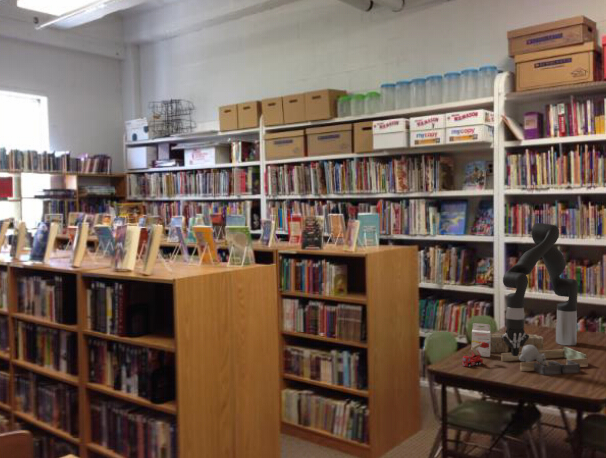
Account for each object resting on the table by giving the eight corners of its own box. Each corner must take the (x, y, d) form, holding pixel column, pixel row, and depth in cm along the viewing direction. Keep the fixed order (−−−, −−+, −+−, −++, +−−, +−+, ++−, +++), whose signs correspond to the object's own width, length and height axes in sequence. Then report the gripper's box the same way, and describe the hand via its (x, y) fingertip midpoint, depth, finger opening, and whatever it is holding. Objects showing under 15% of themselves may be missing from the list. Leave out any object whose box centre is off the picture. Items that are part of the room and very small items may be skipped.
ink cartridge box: (471, 355, 281) (471, 325, 280) (472, 353, 285) (472, 323, 285) (490, 357, 278) (490, 326, 277) (490, 354, 282) (490, 324, 282)
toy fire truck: (461, 365, 264) (461, 344, 264) (483, 361, 271) (483, 340, 270) (466, 367, 261) (466, 346, 261) (489, 363, 268) (489, 342, 267)
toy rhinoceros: (542, 373, 260) (550, 357, 257) (516, 360, 265) (523, 343, 263) (545, 369, 266) (553, 352, 263) (519, 356, 271) (526, 340, 269)
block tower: (539, 351, 291) (477, 348, 295) (539, 334, 290) (478, 331, 295) (543, 355, 283) (480, 352, 287) (543, 338, 282) (480, 335, 287)
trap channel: (501, 360, 271) (501, 350, 271) (564, 356, 277) (564, 345, 276) (530, 376, 247) (530, 364, 247) (598, 370, 253) (598, 359, 253)
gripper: (524, 315, 267) (523, 352, 267) (497, 316, 264) (497, 354, 265) (533, 318, 259) (533, 357, 260) (505, 319, 257) (505, 358, 258)
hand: (515, 355), depth 263 cm, fingers closed
